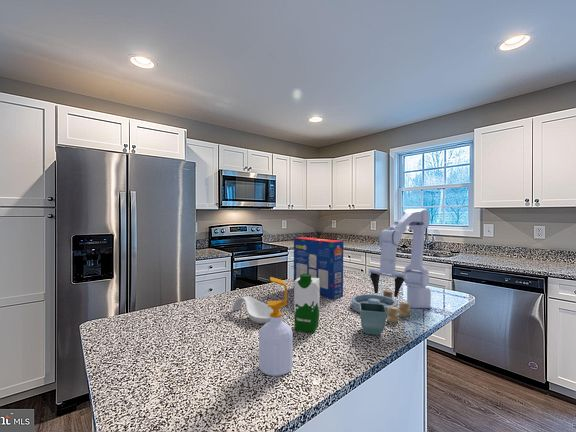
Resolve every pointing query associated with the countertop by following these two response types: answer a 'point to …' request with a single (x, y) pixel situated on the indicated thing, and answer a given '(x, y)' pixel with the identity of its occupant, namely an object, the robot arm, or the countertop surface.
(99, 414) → the countertop surface
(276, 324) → the soap bottle
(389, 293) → the bead
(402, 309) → the bead
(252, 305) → the spoon rest
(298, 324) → the milk carton
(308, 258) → the pasta box
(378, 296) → the ring tray
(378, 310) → the flower pot
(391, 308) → the bead
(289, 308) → the countertop surface
